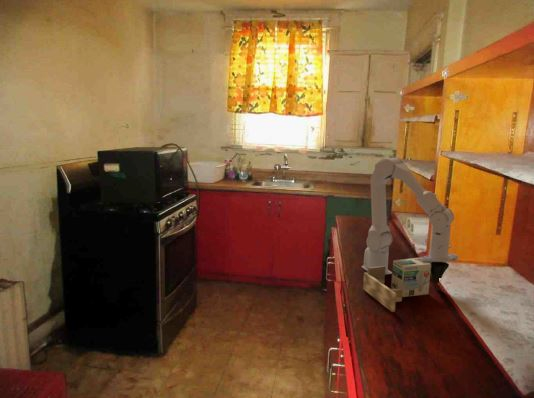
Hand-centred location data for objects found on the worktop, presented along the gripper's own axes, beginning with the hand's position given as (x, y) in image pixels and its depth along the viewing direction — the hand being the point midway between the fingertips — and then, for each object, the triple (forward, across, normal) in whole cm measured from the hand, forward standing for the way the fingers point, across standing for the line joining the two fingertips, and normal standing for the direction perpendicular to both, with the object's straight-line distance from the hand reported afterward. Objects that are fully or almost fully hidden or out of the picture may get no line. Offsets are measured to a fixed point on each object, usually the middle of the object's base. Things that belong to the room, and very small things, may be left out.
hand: (436, 281), depth 131 cm
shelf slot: (+2, -21, -3) cm, 21 cm away
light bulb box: (+3, -10, 0) cm, 11 cm away
